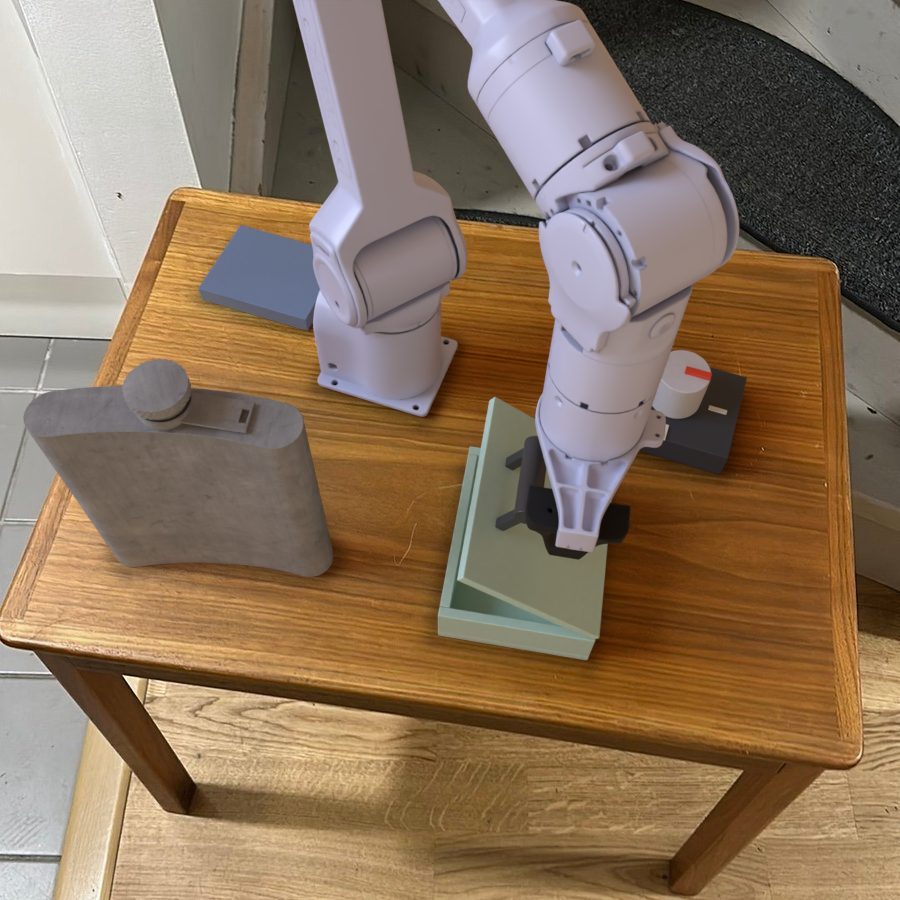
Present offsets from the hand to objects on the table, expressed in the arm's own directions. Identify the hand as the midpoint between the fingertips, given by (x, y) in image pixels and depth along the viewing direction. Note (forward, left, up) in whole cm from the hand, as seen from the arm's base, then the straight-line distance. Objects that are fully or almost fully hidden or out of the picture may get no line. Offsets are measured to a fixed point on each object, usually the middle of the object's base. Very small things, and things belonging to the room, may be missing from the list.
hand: (571, 497), depth 58 cm
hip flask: (-23, -7, -10) cm, 26 cm away
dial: (+5, +16, -8) cm, 18 cm away
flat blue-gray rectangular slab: (-31, +18, -10) cm, 37 cm away
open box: (-2, 0, -10) cm, 10 cm away
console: (+5, +16, -10) cm, 19 cm away
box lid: (-2, 0, -3) cm, 4 cm away
